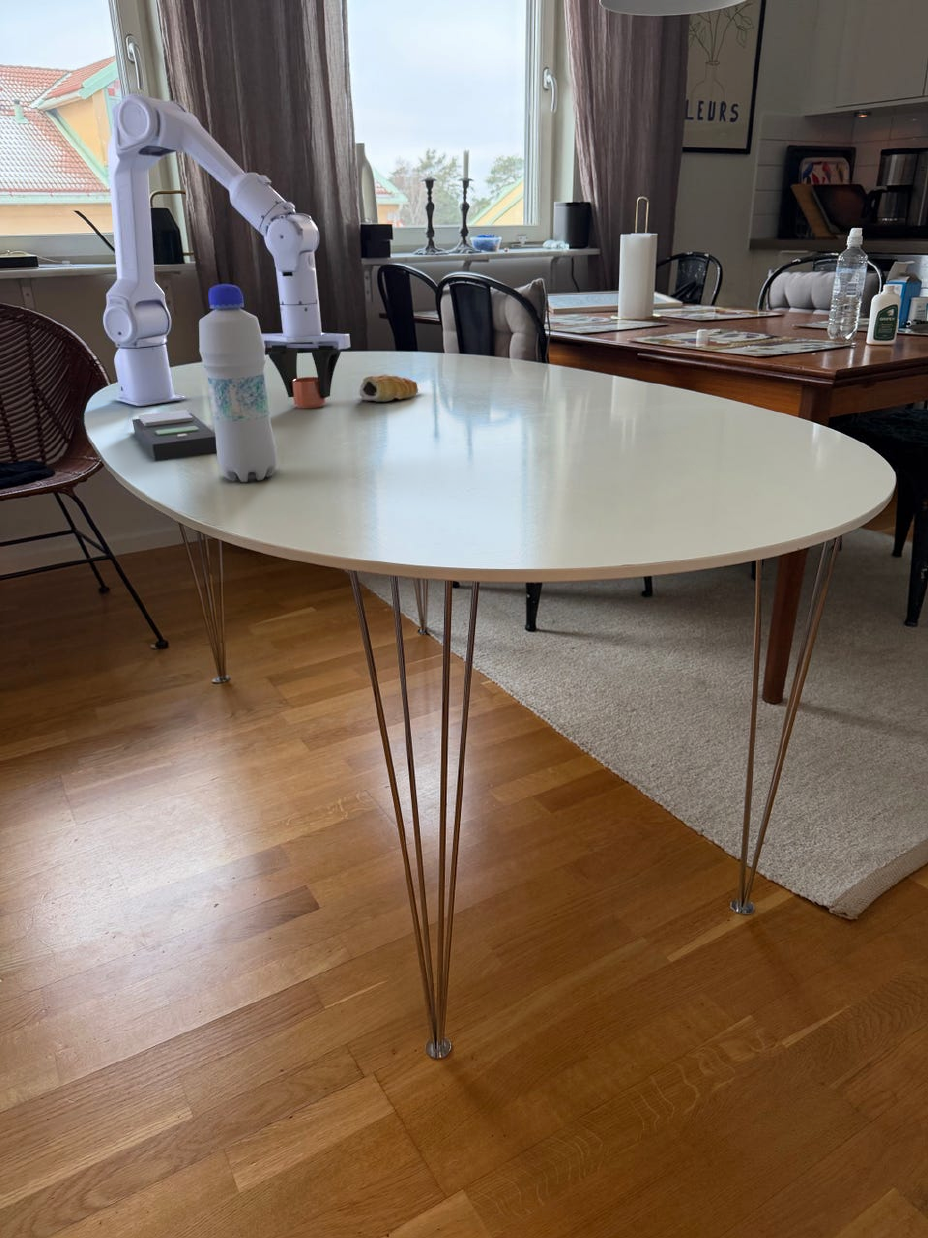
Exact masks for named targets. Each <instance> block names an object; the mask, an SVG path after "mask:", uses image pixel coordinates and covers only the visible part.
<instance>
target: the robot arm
mask: <svg viewBox="0 0 928 1238" xmlns="http://www.w3.org/2000/svg"><path fill="white" fill-rule="evenodd" d="M112 125H113V128H112V133H111V135H110V138H109V139H110V140H109V143H108V147H107V165H108V166H107V167H108V179H109V180H108V181H109V191H110V204H111V215H112V216H111V217H112V230H113V241H114V254H115V267H116V268H115V269H116V280H115V282H114V284H113V285H112V286H111V287H110V288H109V290H108V291H107V292H106V294H105V295H106V296H105V297H106V298H105V299H106V307H105V310H104V312H103V317H102V321H103V322H102V323H103V327H104V330H105V332H106V334H107V336H108V337H109V339H110V340H112V341H113V342H114V343H115V348H118V349H117V350H116V352H115V355H114V360H113V363H114V368H115V373H116V378H117V383H118V388H119V394H120V396H116V397H115V400H116V401H118V402H120V403H121V402H122V403H126V404H129V405H132V406H137V407H145V406H152V405H158V404H163V403H170V402H176V401H182V400H185V396H183V395H180V394H175V391H174V385H173V380H172V373H171V367H170V362H169V355H168V350H167V349H168V348H167V344H166V343H168V338H167V336H168V335H169V333H170V331H171V328H172V316H171V314H170V311H169V309H168V307H167V304H166V303H167V302H166V294H165V292H164V291H163V290H162V288H161V287H160V286H159V285H158V284H157V282H156V279H155V264H154V247H153V230H152V212H151V197H150V196H151V195H150V181H149V180H150V179H149V170H150V169H151V168H152V167H154V165H156V163H158V162H159V161H160V160H161V159H162V158H163V157H166V156H168V155H170V154H173V153H176V152H181V153H185V154H187V155H188V156H189V157H190V158H191V159H192V160H194V161H195V162H196V163H197V164H198V165H199V166H200V167H202V168H203V169H204V170H205V171H206V172H207V173H208V174H209V175H211V176H212V177H213V179H215V180H216V181H217V182H218V183H220V185H222V186H223V187H224V188H225V189H226V190H227V191H228V193H229V201H230V204H231V206H232V207H233V208H234V209H235V210H236V211H237V212H238V213H239V214H240V215H241V216H242V217H243V218H244V219H245V220H247V222H248V223H249V224H250V225H252V226H253V228H255V229H256V231H258V232H259V233H260V234H261V235H262V236H263V241H264V244H265V246H266V248H267V250H268V251H269V253H270V254H271V255H272V257H273V260H274V267H275V272H276V273H275V274H276V280H277V289H278V290H277V291H278V296H279V297H278V299H279V309H280V316H281V327H282V332H281V333H280V332H279V333H261V334H262V338H263V342H264V345H265V349H267V348H269V349H271V351H268V358H269V359H270V361H271V362H272V363H273V365H274V367H275V368H276V370H277V372H278V373H279V375H280V378H281V380H282V383H283V385H284V387H285V390H286V394H287V396H288V398H293V389H292V380H293V379H297V378H298V368H297V367H298V363H297V362H298V351H299V349H316V350H312V351H311V356H312V359H313V362H314V365H315V370H316V375H317V377H318V385H319V394H320V398H325V399H327V398H329V397H330V396H331V391H332V390H331V389H332V381H333V377H334V373H335V368H336V366H337V363H338V361H339V358H340V356H341V352H342V350H347V349H349V348H351V338H350V333H332V332H322V321H321V311H320V300H319V289H318V277H317V269H316V259H315V252H316V251H317V249H318V246H319V244H320V232H319V229H318V226H317V225H316V223H315V221H313V219H312V217H311V216H310V215H309V214H306V213H302V212H301V213H300V212H296V210H295V209H296V206H295V205H294V204H293V203H292V201H286V200H285V199H284V198H283V197H282V196H281V195H280V194H279V193H278V192H277V191H276V190H275V189H274V188H273V187H272V186H270V185H272V180H271V179H269V177H268V176H267V175H264V174H263V175H262V174H260V175H259V174H258V173H257V172H247V173H246V172H244V170H243V169H242V168H241V167H240V166H239V165H238V164H237V163H236V162H235V161H234V160H233V158H232V157H231V156H230V155H229V154H228V153H227V152H226V151H225V149H224V148H223V147H221V145H220V144H219V143H218V142H217V141H216V140H215V139H214V137H212V135H211V134H210V133H209V132H208V131H207V130H206V129H205V128H204V127H203V126H202V124H201V123H200V121H199V119H198V117H197V116H195V115H193V114H192V113H191V112H188V110H187V109H186V108H185V106H184V105H183V104H181V103H180V102H178V101H175V100H164V99H159V98H154V97H149V96H145V95H143V94H139V93H129V94H127V95H125V96H124V97H122V99H121V100H120V101H118V103H117V104H116V105H115V106H114V107H113V108H112Z"/></svg>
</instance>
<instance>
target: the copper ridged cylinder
mask: <svg viewBox="0 0 928 1238" xmlns="http://www.w3.org/2000/svg"><path fill="white" fill-rule="evenodd" d="M292 389H293V397H292V398H293V404H294V405H295V406H296V408H298V409H317V408H322V407H324V405H325V404H326V401H327V400H326V398H320V394H319V385H318V376H307V377H306V376H305V377H297V379H293V380H292Z"/></svg>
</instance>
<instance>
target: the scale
mask: <svg viewBox="0 0 928 1238" xmlns="http://www.w3.org/2000/svg"><path fill="white" fill-rule="evenodd" d="M137 417H138V418H134V419H131V421H132V426H133V432H134V435H135V436H136V437H137V439H138V440H139V441H140V443H141V444H142V446H143V447H144V448H145V449H146V450H147V452H148V454H149V455H150V456H151V458H153V460H154V461H155V462H156V461H164V460H165V461H166V460H172V459H178V458H187V457H194V456H201V455H209V454H217V448H216V435H215V431H213V429H211V428H210V427H209V426H208V425H206V424H205V423H204V422H203V421H202V420H201V419H199V418H198V417H197V416H195V414H193V413H192V412H188V411H186V410H185V409H180V410H171V411H164V412H153V413H143V414H139V415H138V416H137Z"/></svg>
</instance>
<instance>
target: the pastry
mask: <svg viewBox="0 0 928 1238" xmlns="http://www.w3.org/2000/svg"><path fill="white" fill-rule="evenodd" d="M418 393H419V388H418V383H417V382H416V381H413V380H411V379H410V378H408V377H401V376H399V375H398V376H397V375H390V374H381V375H375V376H371V375H370V376H366V377H365V378H364V379H363V380H362V383H361V385H360V389H359V396H360V397H361V399H362V401H366V402H371V401H374V402H377V403H378V402H384V403H386V402H389V401H393V400H394V399H398V400H403V399H408V398H409V399H410V398H413V397H414V396H416V395H417V394H418Z"/></svg>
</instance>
